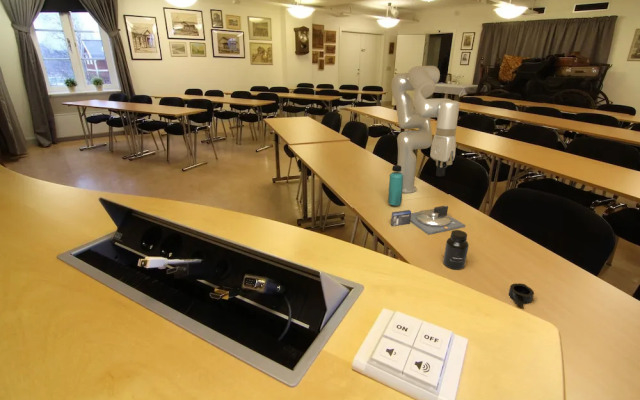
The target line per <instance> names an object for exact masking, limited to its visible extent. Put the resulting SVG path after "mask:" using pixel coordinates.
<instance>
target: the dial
mask: <svg viewBox="0 0 640 400" xmlns="http://www.w3.org/2000/svg"><path fill="white" fill-rule="evenodd" d="M433 209H434V210H431V209H425V210H423V209H422V210H420V211H417V212H418V213H417V215H416V219H417V220H418V221H419V222H420V223H422V224H424V225H428V226H433V227H443V226H447V225H449V224H450V222H451V217H452V216H451V215H449V214H448V210H449V206H448V205H447V204H444V205H440V206H435V207H434V208H433ZM450 216H451V217H450Z"/></svg>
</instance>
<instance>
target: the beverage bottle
mask: <svg viewBox="0 0 640 400" xmlns="http://www.w3.org/2000/svg"><path fill="white" fill-rule="evenodd" d="M391 170H392V171H393V172H391V173H390V174H389V181H388V182H389V183H388V195H387V196H388V198H387V199H388V200H387V203H388V204H389V205H391V206H401V204H402V200H403V193H402V188H403V174H402V173H400V171H401V166H399V165H397V164H396V165H393V166H392V168H391Z"/></svg>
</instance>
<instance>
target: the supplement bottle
mask: <svg viewBox="0 0 640 400" xmlns="http://www.w3.org/2000/svg"><path fill="white" fill-rule="evenodd" d="M467 240H468V234H467V233H466V231H463V230H460V229H454V230H451V232H450V237H449V238H447V239H446V243H445V248H444V255H443V261H442V262H443V263H442V264H443V265H444V266H445V267H447V268H449V269H451V270H462V269H463V268H464V267H465V266H466V261H467V255H468V251H469V245H470V244H469V242H468V241H467Z"/></svg>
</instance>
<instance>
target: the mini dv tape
mask: <svg viewBox="0 0 640 400" xmlns="http://www.w3.org/2000/svg"><path fill="white" fill-rule="evenodd" d="M411 213H412V211H411V209H407V210H399V211H392V212H391V220H390V226H391V227H399V226H407V225H410V224H411V222H410V219H411Z"/></svg>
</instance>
